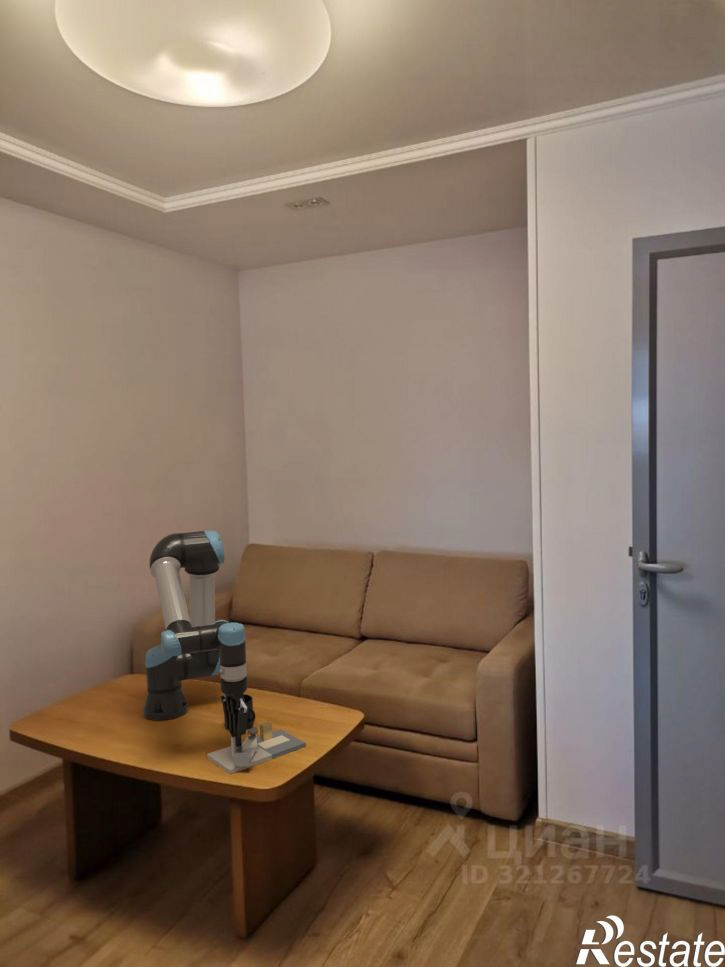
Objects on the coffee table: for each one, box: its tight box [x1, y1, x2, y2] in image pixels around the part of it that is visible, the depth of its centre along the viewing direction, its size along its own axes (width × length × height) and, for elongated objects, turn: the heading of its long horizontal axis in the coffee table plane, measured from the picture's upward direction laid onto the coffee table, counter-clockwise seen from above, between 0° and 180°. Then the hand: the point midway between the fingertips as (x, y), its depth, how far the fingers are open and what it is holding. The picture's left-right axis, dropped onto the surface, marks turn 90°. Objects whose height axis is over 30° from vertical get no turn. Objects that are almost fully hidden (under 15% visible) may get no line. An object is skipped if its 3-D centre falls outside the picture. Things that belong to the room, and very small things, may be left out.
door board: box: [206, 727, 306, 775], centre depth 221 cm, size 14×26×7 cm, turn 129°
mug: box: [223, 694, 256, 731], centre depth 241 cm, size 9×12×9 cm
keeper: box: [259, 721, 273, 742], centre depth 227 cm, size 2×3×5 cm
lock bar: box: [233, 735, 258, 768], centre depth 214 cm, size 11×4×4 cm, turn 172°
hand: (237, 755), depth 214 cm, fingers closed
